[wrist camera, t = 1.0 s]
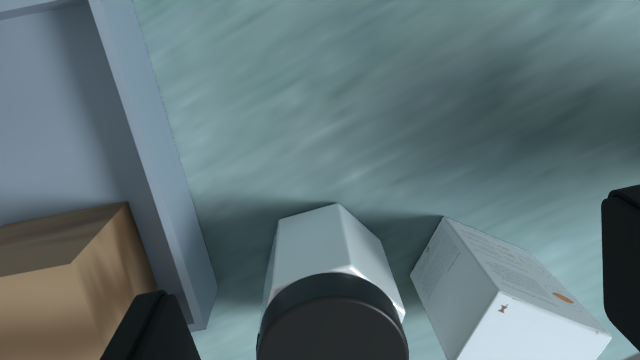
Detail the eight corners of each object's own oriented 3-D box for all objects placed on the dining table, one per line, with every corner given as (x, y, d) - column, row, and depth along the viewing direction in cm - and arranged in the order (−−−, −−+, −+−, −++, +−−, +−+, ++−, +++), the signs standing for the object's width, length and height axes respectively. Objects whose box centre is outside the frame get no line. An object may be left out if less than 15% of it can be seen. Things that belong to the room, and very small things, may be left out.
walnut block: (3, 224, 34) (-95, 295, 26) (127, 200, 34) (70, 263, 25) (41, 308, 36) (-38, 398, 28) (157, 286, 36) (113, 370, 28)
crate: (-139, 39, 31) (-223, 45, 26) (127, -15, 30) (93, -21, 25) (2, 328, 38) (-42, 375, 33) (218, 287, 37) (205, 329, 32)
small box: (407, 274, 38) (446, 368, 28) (442, 213, 36) (497, 289, 26) (495, 309, 39) (561, 410, 29) (532, 251, 37) (616, 338, 28)
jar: (242, 255, 37) (216, 364, 25) (317, 180, 35) (325, 262, 24) (327, 323, 39) (338, 451, 27) (401, 256, 37) (446, 364, 26)
